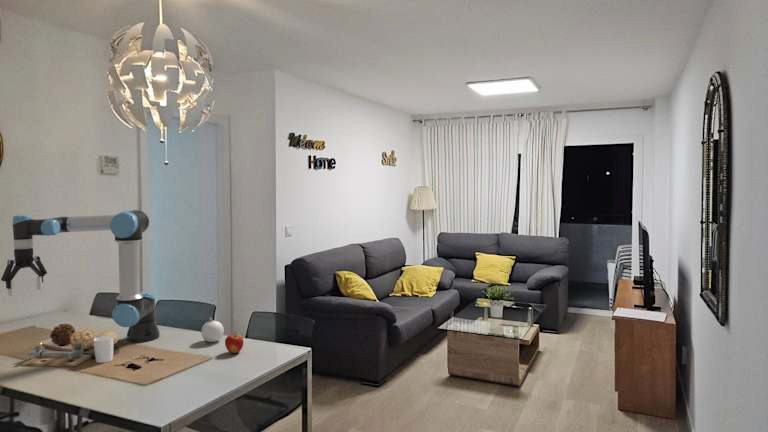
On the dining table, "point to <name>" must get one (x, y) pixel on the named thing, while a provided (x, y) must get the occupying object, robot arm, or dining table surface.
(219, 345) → the dining table surface
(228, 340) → the apple
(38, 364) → the jig board
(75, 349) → the dividers beam
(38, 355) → the sliding leg
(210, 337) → the ornament
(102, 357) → the white cup
